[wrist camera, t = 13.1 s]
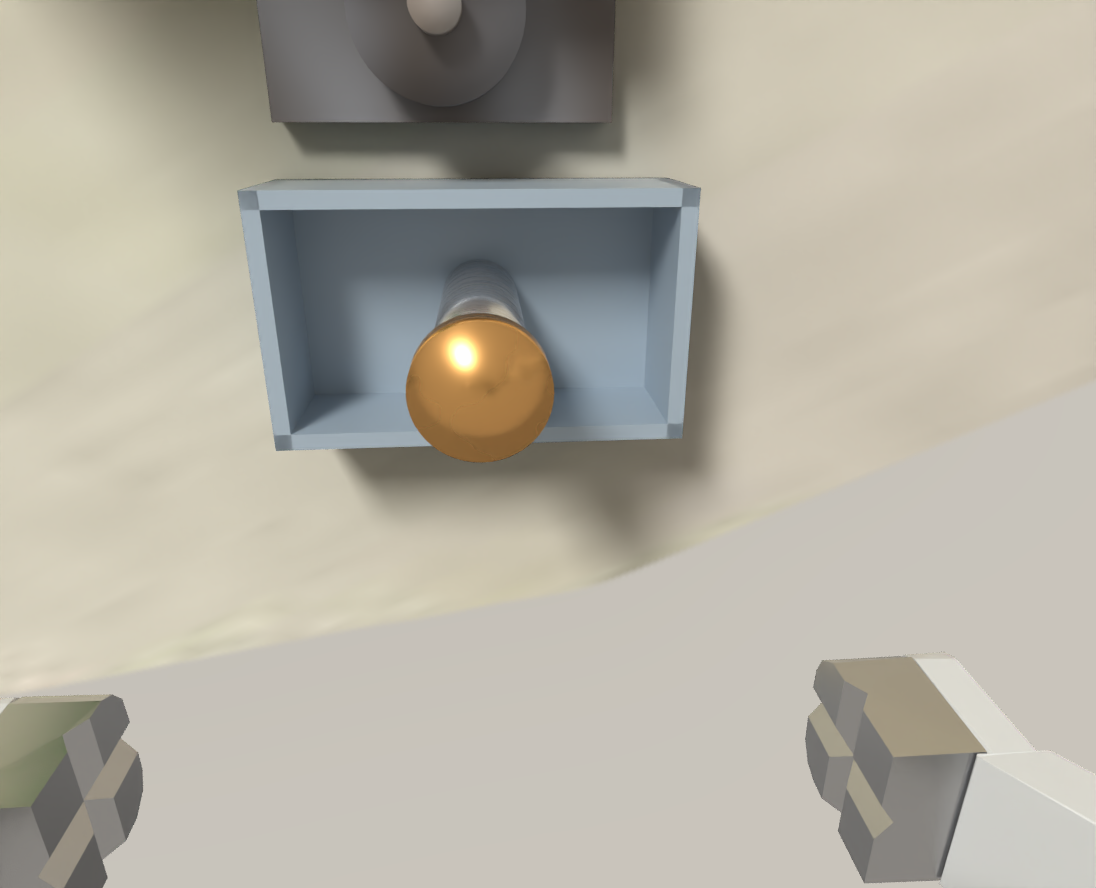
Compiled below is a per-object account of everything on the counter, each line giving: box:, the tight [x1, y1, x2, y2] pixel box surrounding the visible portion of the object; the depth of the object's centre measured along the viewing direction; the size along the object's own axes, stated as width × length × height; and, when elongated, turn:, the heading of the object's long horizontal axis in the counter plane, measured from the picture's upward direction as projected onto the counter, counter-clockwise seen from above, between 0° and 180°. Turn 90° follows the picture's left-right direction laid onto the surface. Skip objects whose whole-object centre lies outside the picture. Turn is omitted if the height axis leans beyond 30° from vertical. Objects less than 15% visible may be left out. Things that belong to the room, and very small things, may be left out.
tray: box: [237, 178, 701, 451], centre depth 29 cm, size 15×9×5 cm, turn 90°
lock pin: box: [406, 260, 554, 462], centre depth 25 cm, size 4×4×12 cm
